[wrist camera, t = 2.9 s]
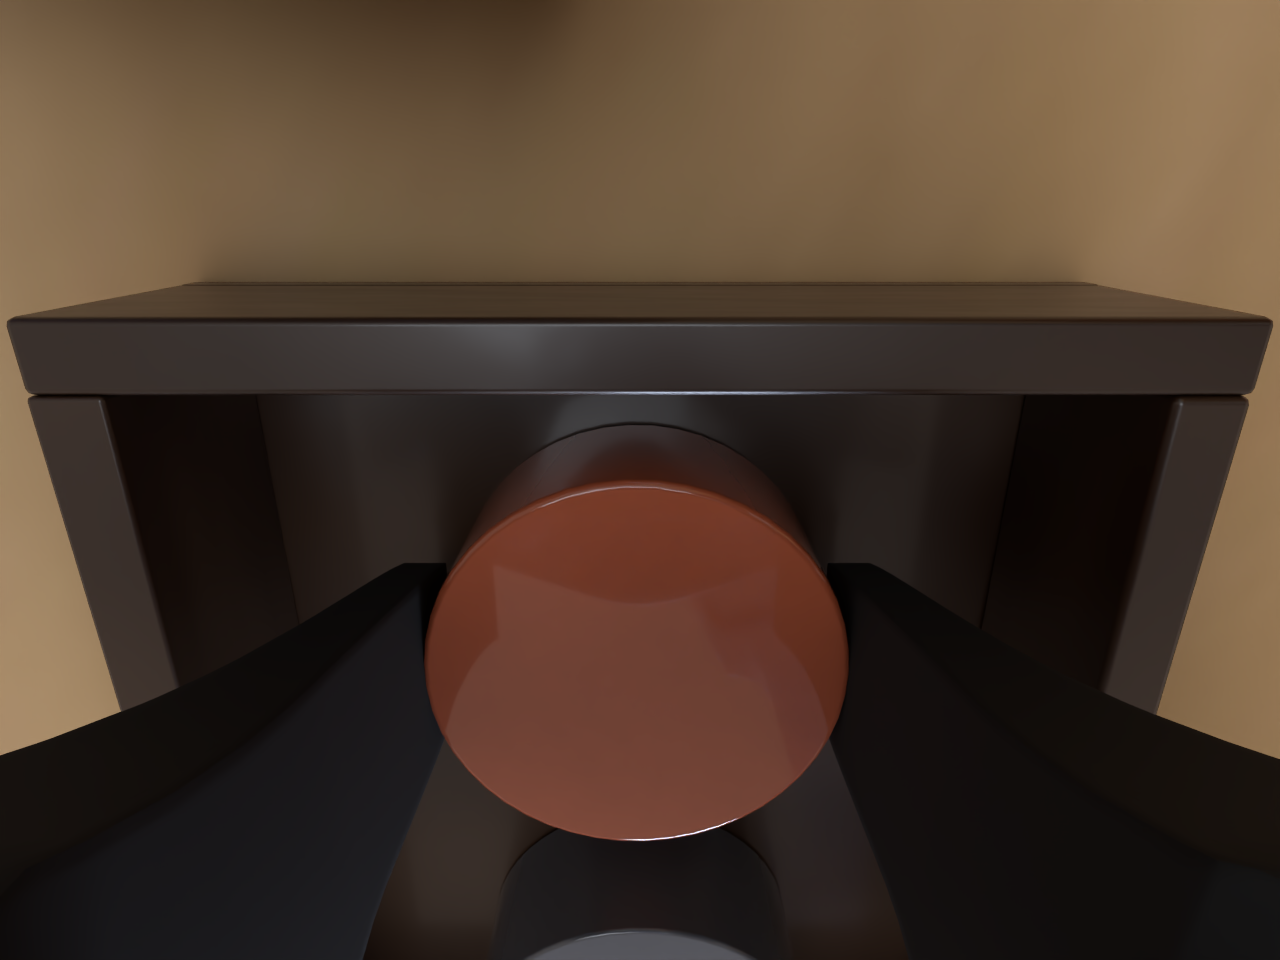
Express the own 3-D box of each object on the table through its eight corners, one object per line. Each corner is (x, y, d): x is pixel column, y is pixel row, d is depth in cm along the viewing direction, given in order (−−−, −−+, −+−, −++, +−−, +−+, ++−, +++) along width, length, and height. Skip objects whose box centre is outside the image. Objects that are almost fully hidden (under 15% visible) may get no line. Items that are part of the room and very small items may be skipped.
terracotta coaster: (878, 608, 12) (934, 703, 10) (618, 782, 13) (614, 902, 11) (660, 345, 10) (666, 386, 8) (390, 570, 12) (330, 659, 9)
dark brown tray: (925, 1056, 16) (994, 1263, 13) (354, 1056, 16) (285, 1263, 13) (1084, 281, 10) (1280, 317, 7) (193, 281, 10) (0, 318, 7)
